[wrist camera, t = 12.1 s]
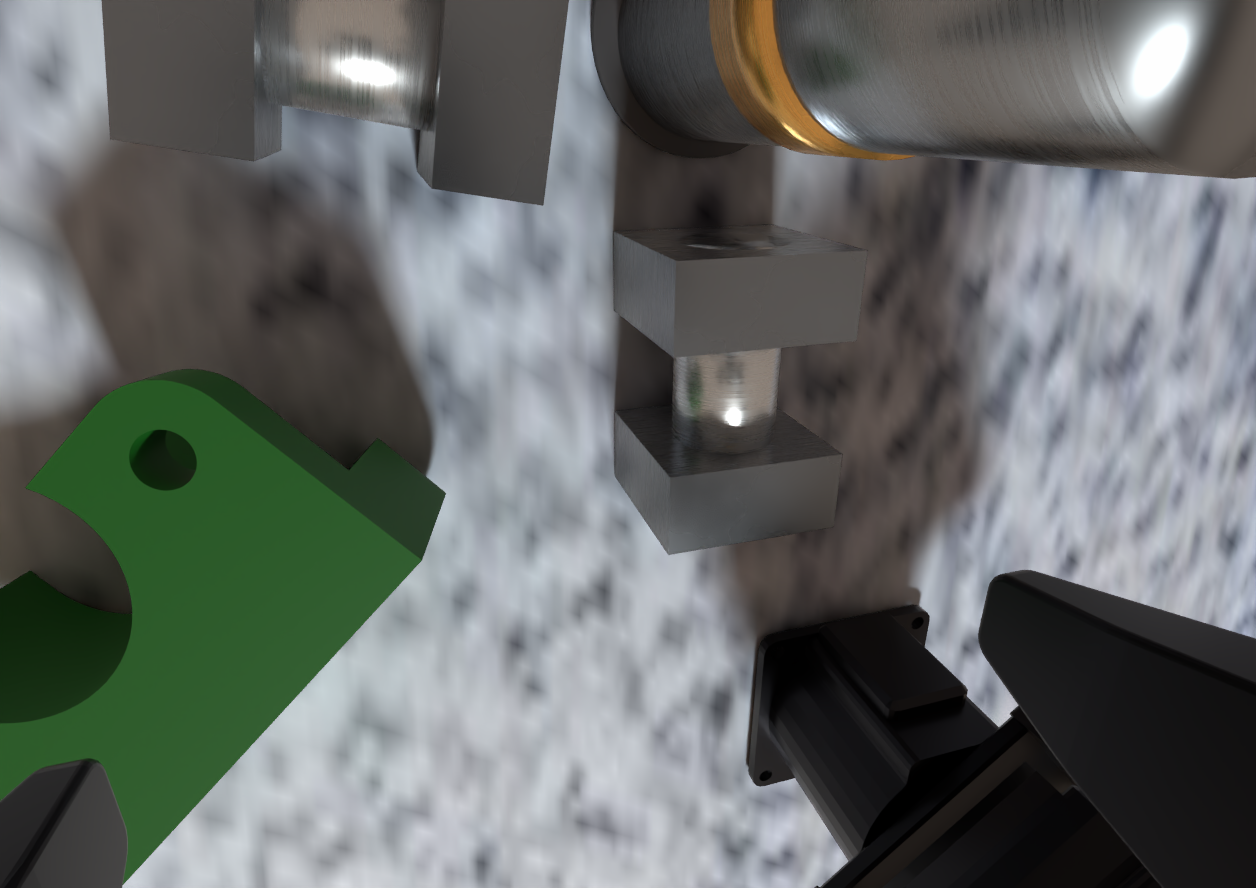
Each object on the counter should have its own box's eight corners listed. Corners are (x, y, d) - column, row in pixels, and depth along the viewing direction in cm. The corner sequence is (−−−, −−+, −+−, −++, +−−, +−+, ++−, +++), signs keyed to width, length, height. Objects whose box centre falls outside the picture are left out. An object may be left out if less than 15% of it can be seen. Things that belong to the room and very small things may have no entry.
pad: (795, 155, 20) (800, 156, 19) (592, 159, 18) (596, 159, 18) (815, -95, 18) (822, -98, 17) (588, -114, 16) (592, -118, 16)
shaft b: (527, -28, 16) (577, -72, 13) (505, 186, 18) (543, 205, 14) (164, -122, 14) (88, -211, 10) (174, 133, 16) (110, 139, 12)
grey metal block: (755, 457, 23) (833, 527, 19) (615, 476, 22) (668, 555, 18) (772, 224, 20) (867, 250, 16) (613, 231, 19) (676, 261, 15)
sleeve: (774, 158, 19) (1362, 219, 8) (600, 128, 18) (1015, 149, 6) (817, -52, 18) (1635, -360, 6) (629, -105, 16) (1258, -639, 5)
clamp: (255, 363, 22) (221, 275, 14) (419, 495, 23) (480, 488, 15) (-108, 727, 18) (-460, 913, 10) (114, 856, 20) (-30, 1111, 11)
